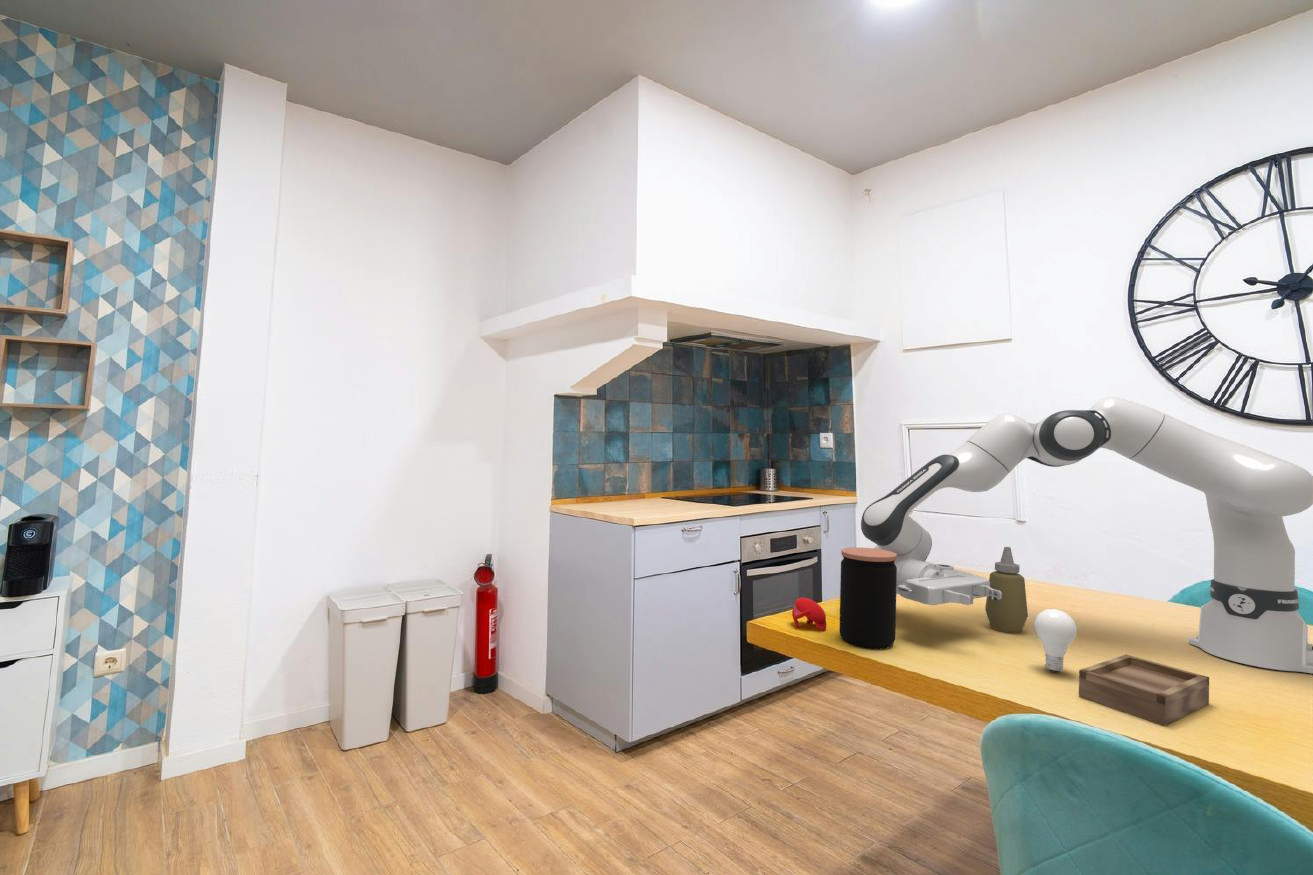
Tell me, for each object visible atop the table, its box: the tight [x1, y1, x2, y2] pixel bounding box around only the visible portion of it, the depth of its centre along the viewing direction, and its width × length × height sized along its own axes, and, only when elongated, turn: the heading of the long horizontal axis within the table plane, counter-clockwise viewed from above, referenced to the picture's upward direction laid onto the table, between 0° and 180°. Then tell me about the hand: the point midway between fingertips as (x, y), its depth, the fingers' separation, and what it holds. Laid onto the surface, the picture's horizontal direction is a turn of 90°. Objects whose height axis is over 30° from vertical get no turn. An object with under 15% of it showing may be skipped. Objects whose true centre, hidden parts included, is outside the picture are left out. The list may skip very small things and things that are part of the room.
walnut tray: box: [1078, 654, 1210, 727], centre depth 93 cm, size 16×11×4 cm
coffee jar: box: [838, 546, 897, 650], centre depth 118 cm, size 11×11×18 cm
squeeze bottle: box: [984, 546, 1029, 634], centre depth 128 cm, size 8×8×18 cm
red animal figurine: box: [791, 597, 827, 633], centre depth 126 cm, size 8×6×6 cm
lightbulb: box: [1033, 608, 1078, 673], centre depth 104 cm, size 6×6×11 cm
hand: (985, 598), depth 115 cm, fingers open, 8 cm apart
